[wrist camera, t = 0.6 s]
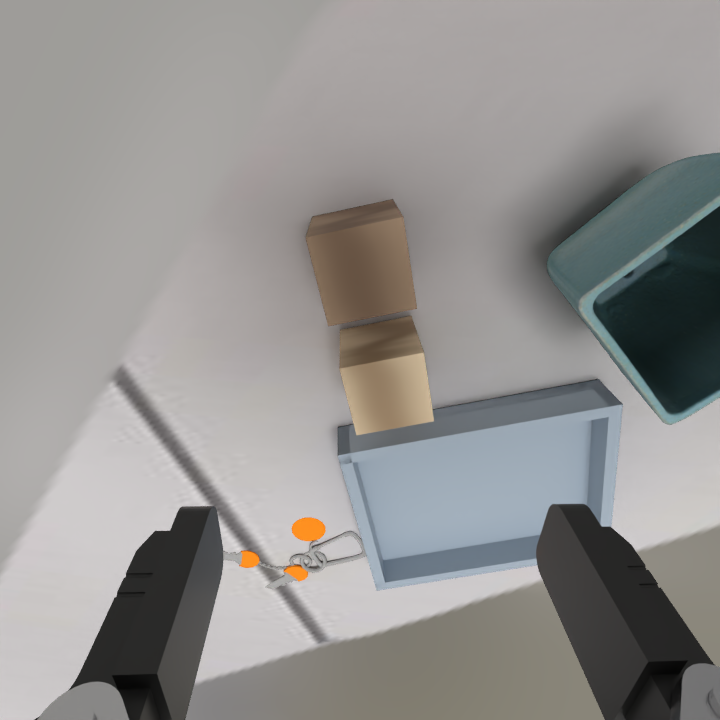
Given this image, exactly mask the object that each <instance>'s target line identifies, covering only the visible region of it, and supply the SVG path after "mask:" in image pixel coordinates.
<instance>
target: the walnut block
mask: <svg viewBox="0 0 720 720" xmlns="http://www.w3.org/2000/svg"><path fill="white" fill-rule="evenodd" d="M306 241H307V245H308V249H309V253H310V257H311V261H312V264H313V268H314V272H315V276H316V280H317V284H318V288H319V292H320V296H321V300H322V303H323V307H324V311H325V315H326V319H327V323H328V326H332V325H337V324H342V323H347V322H352V321H357V320H362V319H368V318H373V317H378V316H383V315H388V314H393V313H398V312H403V311H408V310H413V309H417V305H416V298H415V292H414V285H413V279H412V272H411V265H410V259H409V252H408V245H407V239H406V232H405V225H404V219H403V216H402V214H401V212H400V211H399V209H398V207H397V206H396V204H395V202H394V201H393V199H392V200H387V201H382V202H378V203H373V204H369V205H364V206H359V207H355V208H350V209H345V210H341V211H336V212H331V213H327V214H322V215H317V216H313V217H312V219H311V222H310V225H309V228H308V232H307V235H306Z"/></svg>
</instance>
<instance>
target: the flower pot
mask: <svg viewBox="0 0 720 720" xmlns="http://www.w3.org/2000/svg"><path fill="white" fill-rule="evenodd" d="M547 270H548V273H549V276H550V278H551V279H552V281H553V282H554V284H555V285H556V286H557V288H558V289H559V290H560V291H561V293H562V294H563V295H564V296H565V298H566V299H567V300H568V302H569V303H570V304H571V305H572V307H573V308H574V309H575V311H576V312H577V313H578V315H579V316H580V317H581V319H582V320H583V321H584V322H585V324H586V325H587V326H588V328H589V329H590V330H591V332H592V333H593V334H594V336H595V337H596V338H597V340H598V341H599V342H600V344H601V345H602V346H603V348H604V349H605V350H606V352H607V353H608V354H609V356H610V357H611V358H612V360H613V361H614V362H615V364H616V365H617V366H618V368H619V369H620V370H621V372H622V373H623V374H624V375H625V377H626V378H627V379H628V380H629V381H630V383H631V384H632V385H633V386H634V388H635V389H636V390H637V391H638V393H639V394H640V395H641V396H642V397H643V399H644V400H645V401H646V402H647V404H648V405H649V406H650V407H651V408H652V410H653V411H654V412H655V413H656V414H657V416H658V417H659V418H660V419H661V420H662V422H664V423H665V424H669V425H672V424H674V423H676V422H679V421H681V420H683V419H685V418H687V417H689V416H691V415H692V414H694V413H696V412H697V411H699V410H700V409H702V408H703V407H705V406H707V405H709V404H710V403H712V402H713V401H715V400H716V399H718V398H720V153H712V154H705V155H698V156H693V157H689V158H685V159H682V160H679V161H676V162H673V163H671V164H668V165H666V166H664V167H662V168H660V169H658V170H656V171H654V172H653V173H651V174H649V175H648V176H646V177H645V178H643V179H642V180H641V181H639V182H638V183H636V184H635V185H634V186H632V187H631V188H630V189H628V190H627V191H626V192H624V193H623V194H622V195H621V196H620V197H618V198H617V199H616V200H615V201H613V202H612V203H611V204H610V205H608V206H607V207H606V208H605V209H603V210H602V211H601V212H600V213H599V214H597V215H596V216H595V217H594V218H592V219H591V220H590V221H589V222H587V223H586V224H585V225H584V226H582V227H581V228H580V229H579V230H577V231H576V232H575V233H573V234H572V235H571V236H570V237H568V238H567V239H566V240H565V241H563V242H562V243H561V244H560V245H559V246H557V247H556V248H555V249H554V250H553V251H552V253H551V254H550V256H549V258H548V261H547ZM628 273H630V274H629V275H627V274H628ZM625 275H627V276H625Z"/></svg>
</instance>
